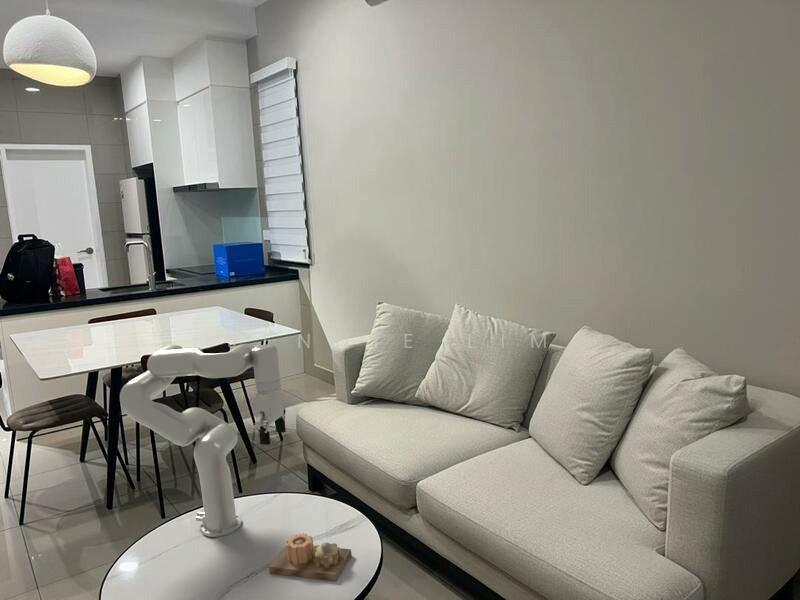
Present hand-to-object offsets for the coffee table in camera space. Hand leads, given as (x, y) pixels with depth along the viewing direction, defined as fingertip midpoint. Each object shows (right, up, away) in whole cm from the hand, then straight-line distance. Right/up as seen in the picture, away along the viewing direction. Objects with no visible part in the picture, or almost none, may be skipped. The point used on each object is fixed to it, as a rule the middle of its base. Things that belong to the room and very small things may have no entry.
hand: (273, 437), depth 189 cm
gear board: (+14, -32, -16) cm, 39 cm away
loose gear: (+11, -30, -16) cm, 36 cm away
